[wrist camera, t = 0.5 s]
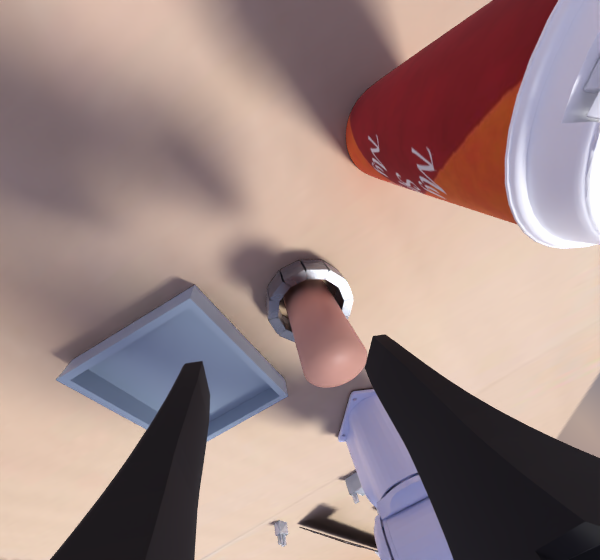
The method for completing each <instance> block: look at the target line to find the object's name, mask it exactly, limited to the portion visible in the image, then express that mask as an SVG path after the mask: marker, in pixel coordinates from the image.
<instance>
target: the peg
mask: <svg viewBox="0 0 600 560" xmlns="http://www.w3.org/2000/svg"><path fill="white" fill-rule="evenodd" d="M284 303H285V306H286V310H287V314H288V317H289V321H290V325H291V328H292V332H293V336H294V339H295V343H296V347H297V350H298V354H299V358H300V361H301V365H302V369H303V372H304V376H305V378H306V379H307V380H308V381H309V382H310V383H311V384H313V385H315V386H318V387H324V388H329V387H336V386H339V385H342V384H345V383H347V382H349V381H350V380H352V379H353V378H355V377H356V376H357V375H358V374H359V373H360V372H361V371H362V369H363V368H364V366H365V364H366V361H367V351H366V349H365V347H364V345H363V344H362V342H361V341H360V339H359V337H358V336H357V334H356V333H355V331H354V329H353V328H352V326H351V324H350V323H349V321H348V320H347V318H346V316H345V315H344V313H343V312H342V310H341V308H340V307H339V305H338V304H337V302H336V300H335V299H334V297H333V296H332V294H331V292H330V291H329V289H328V288H327V286H326V284H325V283H324V282H323V281H322V280H321V279H306V280H304V281H302V282H300V283H298V284H296V285H294V286H292V287H290V288H289V290H288V291H287V292H286V294H285V295H284Z"/></svg>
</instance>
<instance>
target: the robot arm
mask: <svg viewBox="0 0 600 560" xmlns="http://www.w3.org/2000/svg"><path fill="white" fill-rule="evenodd" d="M365 369H366V372H367V374H368V377H369V379H370V382H371V384H372V386H373V389H369V390H360V391H353V392H352V393H351V394H350V398H349V401H348V405H347V408H346V412H345V415H344V419H343V422H342V425H341V429H340V432H339V436H338V440H339V442H344V441H346V443H347V446H348V449H349V452H350V454H351V457H352V460H353V463H354V466H355V469H356V471H357V474H358V477H359V480H360V483H361V486H362V488H363V491H364V493H365V495H366V496H367V498H368V499H369V501H370V502H371V503H372V504H373V505H374V506H375V507H376V508H377V509H378V511H379V513H380V515H377V516H376V518H375V526H374V536H375V541H376V545H377V549H378V553H379V556H380V559H381V560H600V458H598V457H596V456H593V455H591V454H589V453H586V452H584V451H581V450H579V449H577V448H574V447H572V446H570V445H568V444H566V443H563V442H561V441H559V440H557V439H555V438H552V437H550V436H548V435H546V434H544V433H542V432H540V431H538V430H536V429H534V428H532V427H529V426H527V425H526V424H524V423H522V422H520V421H518V420H516V419H514V418H512V417H510V416H508V415H506V414H504V413H503V412H501V411H499V410H497V409H495V408H493V407H492V406H490V405H488V404H487V403H485V402H483V401H481V400H480V399H478V398H476V397H475V396H473V395H471V394H470V393H468V392H466V391H465V390H463V389H462V388H460V387H458V386H457V385H455V384H454V383H452V382H451V381H449V380H448V379H446V378H445V377H443V376H442V375H440V374H439V373H438V372H436V371H435V370H433V369H432V368H430V367H429V366H428V365H426V364H425V363H423V362H422V361H421V360H419V359H418V358H417V357H415V356H414V355H413V354H411V353H410V352H408V351H407V350H406V349H404V348H403V347H402V346H400V345H399V344H398V343H396V342H395V341H394V340H392V339H391V338H389V337H388V336H387V335H378V336H373V338H372V342H371V346H370V350H369V354H368V357H367V361H366V365H365ZM209 415H210V391H209V387H208V383H207V378H206V374H205V369H204V365H203V361H198V362H191V363H185V364H184V365H183V367H182V369H181V371H180V373H179V375H178V377H177V379H176V381H175V383H174V384H173V386H172V388H171V390H170V392H169V394H168V395H167V397H166V399H165V401H164V402H163V404H162V406H161V407H160V409H159V411H158V412H157V414H156V416H155V417H154V419H153V421H152V422H151V424H150V426H149V427H148V429H147V430H146V432H145V433H144V435H143V436H142V438H141V439H140V441H139V443H138V444H137V446H136V447H135V449H134V450H133V452H132V453H131V455H130V456H129V458H128V459H127V460H126V462H125V463H124V465H123V466H122V468H121V469H120V470H119V472H118V473H117V475H116V476H115V477H114V479H113V480H112V481H111V483H110V484H109V486H108V487H107V488H106V490H105V491H104V492H103V494H102V495H101V496H100V498H99V499H98V500H97V502H96V503H95V504H94V505H93V507H92V508H91V509H90V511H89V512H88V513H87V514H86V516H85V517H84V518H83V519H82V521H81V522H80V523H79V525H78V526H77V527H76V528H75V530H74V531H73V532H72V533H71V535H70V536H69V537H68V538H67V540H66V541H65V542H64V543H63V545H62V546H61V547H60V548H59V549H58V551H57V552H56V553H55V554H54V556H53V557H52V558H51V559H50V560H194V555H195V539H196V523H197V508H198V499H199V490H200V483H201V476H202V470H203V463H204V456H205V449H206V442H207V435H208V427H209Z"/></svg>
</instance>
